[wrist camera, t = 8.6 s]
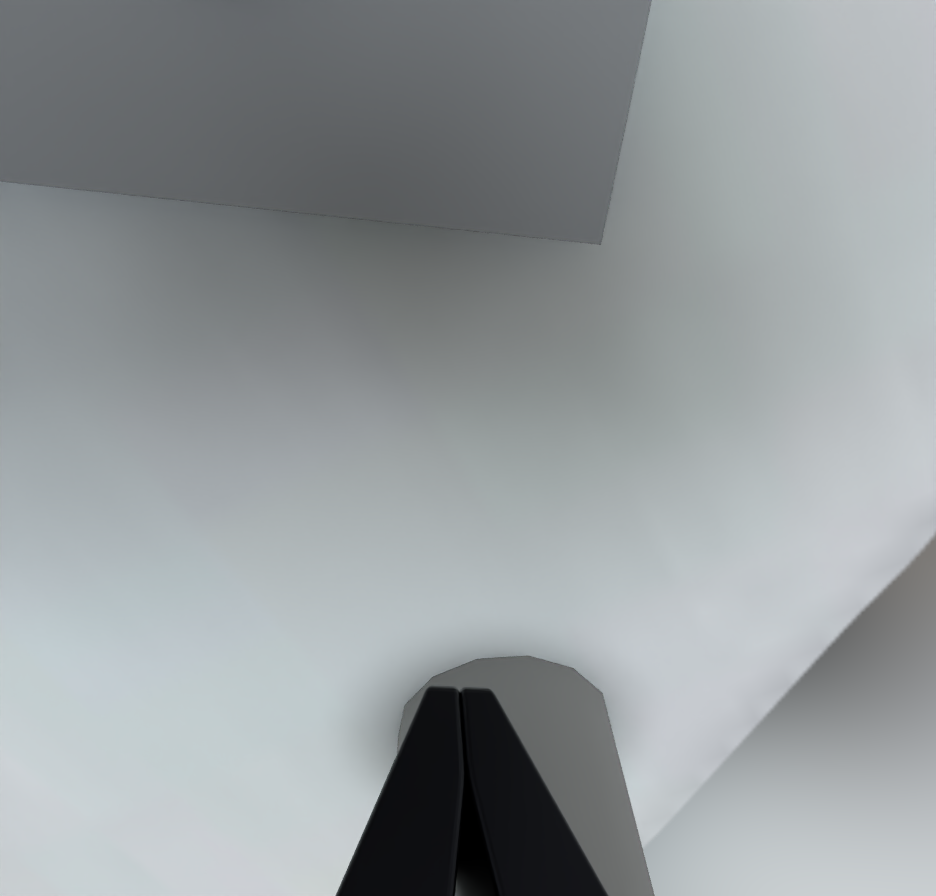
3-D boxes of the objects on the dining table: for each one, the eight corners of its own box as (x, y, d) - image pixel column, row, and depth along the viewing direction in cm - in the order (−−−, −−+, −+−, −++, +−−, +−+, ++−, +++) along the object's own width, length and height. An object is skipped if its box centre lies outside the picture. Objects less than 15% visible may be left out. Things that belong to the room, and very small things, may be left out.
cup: (370, 682, 26) (340, 1002, 17) (587, 634, 25) (667, 944, 17) (434, 810, 30) (436, 1118, 22) (622, 772, 30) (700, 1076, 21)
